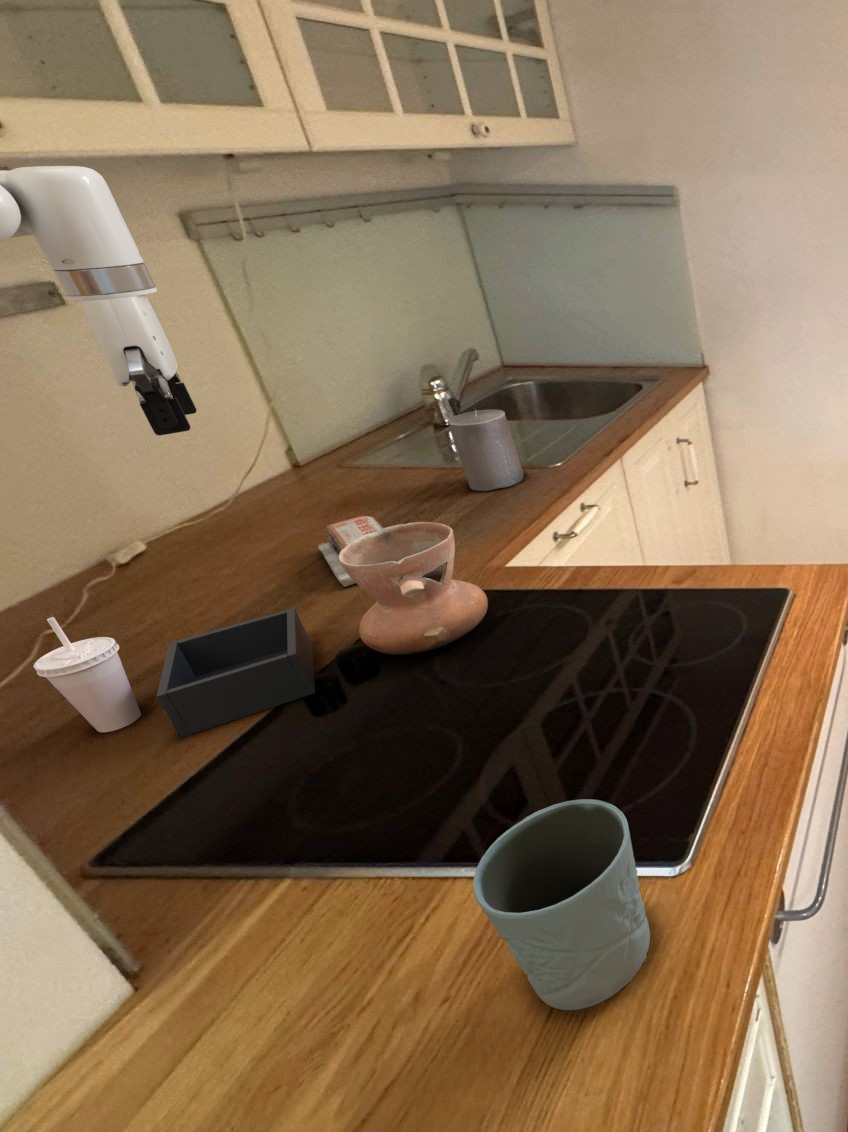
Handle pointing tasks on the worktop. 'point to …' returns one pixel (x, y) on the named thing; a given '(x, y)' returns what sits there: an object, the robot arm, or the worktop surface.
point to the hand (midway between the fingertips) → (177, 423)
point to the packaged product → (345, 542)
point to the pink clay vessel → (412, 588)
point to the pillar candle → (486, 449)
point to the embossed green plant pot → (567, 901)
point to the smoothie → (91, 680)
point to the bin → (236, 672)
